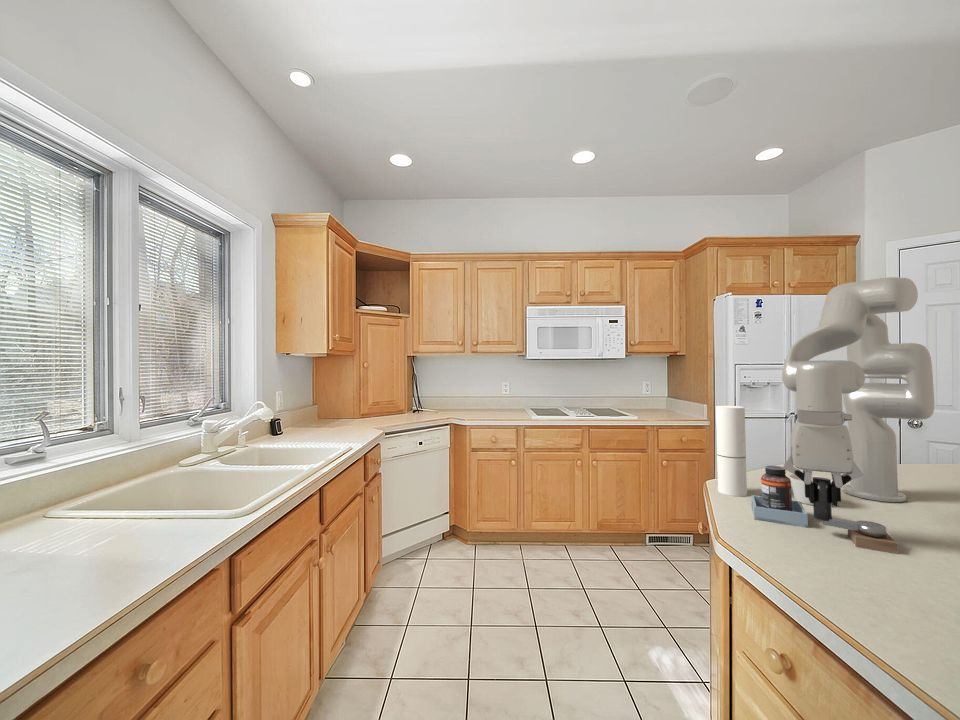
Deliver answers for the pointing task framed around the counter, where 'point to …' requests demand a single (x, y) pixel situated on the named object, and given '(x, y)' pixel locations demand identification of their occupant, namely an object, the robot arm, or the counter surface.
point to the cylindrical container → (731, 450)
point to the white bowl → (800, 489)
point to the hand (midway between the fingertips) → (822, 502)
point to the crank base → (873, 542)
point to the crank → (825, 514)
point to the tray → (779, 513)
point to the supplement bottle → (776, 489)
